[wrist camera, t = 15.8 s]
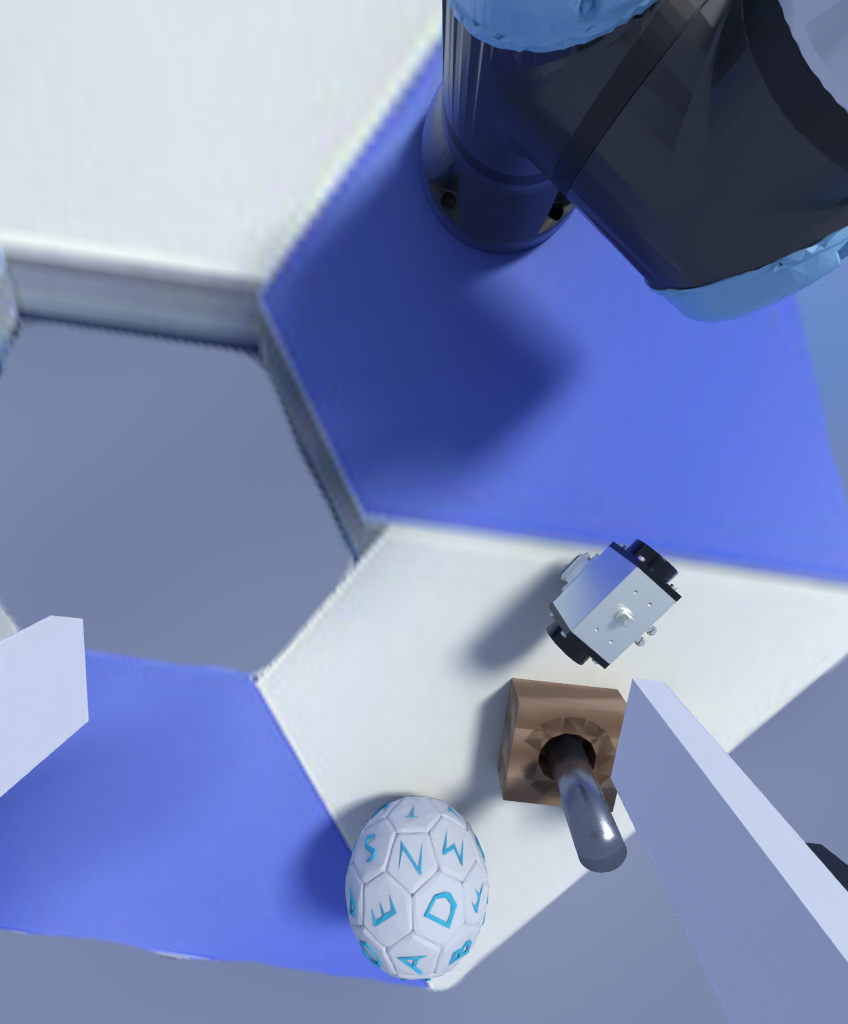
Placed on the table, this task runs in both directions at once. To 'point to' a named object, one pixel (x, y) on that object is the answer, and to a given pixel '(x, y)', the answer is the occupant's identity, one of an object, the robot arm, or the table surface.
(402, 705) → the table surface
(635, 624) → the pneumatic valve
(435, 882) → the puzzle ball
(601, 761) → the bore block
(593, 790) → the cylinder
